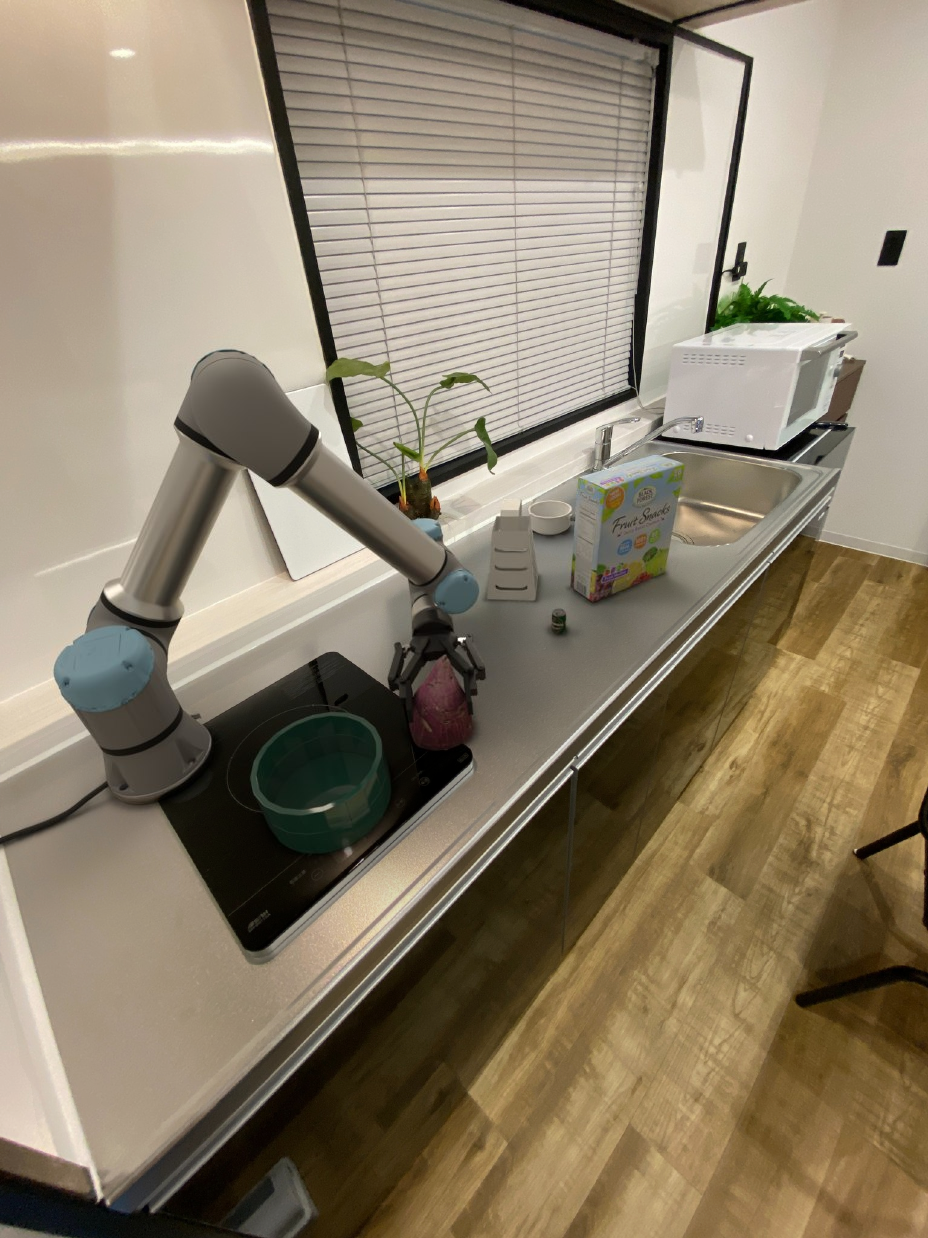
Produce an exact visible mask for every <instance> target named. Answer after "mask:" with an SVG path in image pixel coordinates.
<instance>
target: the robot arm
mask: <svg viewBox="0 0 928 1238" xmlns="http://www.w3.org/2000/svg"><path fill="white" fill-rule="evenodd" d="M172 426H173V429H174V431H175V433H176V436H177V438H178V441H179V442H178V444H177V447H176V450H175V452H174V454H173V456H172V459H171V461H170V463H169V465H168V467H167V470H166V472H165V475H164V477H163V479H162V482H161V484H160V486H159V488H158V490H157V492H156V495H155V498H154V500H153V501H152V505H151V507H150V509H149V511H148V514H147V516H146V518H145V521H144V523H143V525H142V527H141V530H140V532H139V534H138V537H137V539H136V541H135V543H134V545H133V548H132V550H131V552H130V555H129V557H128V560H127V562H126V564H125V567H124V568H123V571H122V573H121V576H120V577H117V578H113V579H110V580H108V581H107V582H106V583H104V586H103V588H102V590H101V593H100V595H99V598H98V600H97V601H96V603H95V605H93V606H92V608H91V609H90V611H89V614H88V617H87V622H86V628H85V631H84V633H83V634H82V635H80V636H78V637H77V638H75V639H73V640H72V644H71V645H66V646H65V647H64V648H63V649H62V650H61V651H60V653H59V654H58V656H57V658H56V660H55V662H54V665H53V678H54V681H55V683H56V685H57V687H58V689H59V690H60V695H61V697H63V699H64V701H66V703H67V704H68V705H69V706H70V707H71V709H72V710H73V712H74V713H75V714H76V716H77V718H78V719H79V720H80V721H81V723H82V724H83V726H84V727H85V728H86V730H87V731H88V733H89V734H90V736H91V737H92V738H93V740H94V741H95V743H96V744H97V746H98V747H99V749H100V750H101V751H102V759H103V766H104V771H105V780H106V781H104V782H103V783H102V784H100V785H99V786H97V787H96V788H95V789H93V790H92V791H90V792H89V793H87V794H86V795H85V796H84V797H82V798H81V799H80V800H78V801H77V802H76V803H75V804H73V805H72V806H71V807H70V808H68V809H66V810H65V811H63V812H61V813H59V814H57V815H55V816H53V817H51V818H49V819H47V820H44V821H42V822H38V823H36V824H33V825H30V826H26V827H24V828H22V829H19V830H17V831H13V832H10V833H8V834H6V835H3V836H1V837H0V845H2V844H4V843H6V842H9V841H12V840H14V839H15V840H16V839H17V838H20V837H22V836H26V835H28V834H31V833H34V832H38V831H39V830H42V829H45V828H47V827H50V826H52V825H54V824H56V823H58V822H60V821H62V820H64V819H66V818H68V817H70V816H72V815H73V814H74V813H76V812H77V811H78V810H80V808H82V807H83V806H84V805H86V804H87V803H88V802H89V801H91V800H92V799H94V798H95V797H96V796H98V795H99V794H101V793H102V792H103V791H104V790H106V789H107V788H109V789H110V791H111V793H112V794H113V795H114V796H115V798H117V799H118V800H119V801H121V802H123V803H126V804H129V805H146V804H152V803H157V802H160V801H162V800H165V799H167V798H170V797H172V796H174V795H177V794H178V793H180V792H181V791H184V790H185V789H186V788H187V787H189V786H191V785H192V783H194V782H195V781H197V779H198V778H199V777H200V776H201V775H202V774H203V773H204V772H205V771H206V769H207V768H208V767H209V765H210V763H211V761H212V759H213V757H214V753H215V743H214V739H213V738H212V736H211V733H210V731H209V730H208V728H207V727H206V726H204V724H202V723H201V722H199V721H198V720H200V719H202V716H201V714H200V713H194V714H191V715H190V714H189V713H188V712H186V711H185V709H183V707H182V705H181V704H180V702H179V700H178V698H177V696H176V694H175V692H174V690H173V688H172V686H171V684H170V682H169V678H168V661H169V649H170V648H169V647H170V644H171V642H172V639H173V637H174V635H175V633H176V631H177V628H178V627H179V625H180V622H181V620H182V618H183V616H184V614H185V606H184V603H183V601H182V600H181V596H182V594H183V592H184V590H185V587H186V586H187V584H188V581H189V579H190V578H191V575H192V573H193V571H194V570H195V567H196V564H197V562H198V560H199V558H200V557H201V554H202V552H203V550H204V547H205V546H206V544H207V542H208V539H209V537H210V536H211V533H212V531H213V529H214V527H215V524H216V522H217V520H218V518H219V516H220V514H221V512H222V510H223V508H224V506H225V504H226V501H227V499H228V497H229V495H230V493H231V491H232V489H233V487H234V485H235V483H236V480H237V478H238V476H239V474H240V472H241V471H243V470H244V471H245V470H249V471H250V472H252V473H253V474H255V475H256V476H258V477H259V478H261V479H262V480H263V481H265V482H266V483H267V484H269V485H270V486H271V487H273V488H274V489H288V490H289V491H290V492H292V493H293V494H295V495H296V496H297V497H299V498H300V499H301V500H303V501H304V502H306V503H307V504H308V505H309V506H311V507H312V508H314V509H315V510H316V511H317V512H319V513H320V514H321V515H323V516H324V517H326V519H328V520H330V522H332V523H333V524H335V526H338V528H340V529H342V530H343V531H344V532H345V533H347V534H348V535H349V536H351V538H353V539H355V540H356V541H357V542H359V543H360V544H361V545H363V546H364V547H365V548H367V549H368V550H369V551H371V552H372V554H375V555H376V556H377V557H379V558H380V559H381V560H383V561H384V562H385V563H386V564H388V565H389V566H390V567H392V568H393V569H394V570H396V571H397V572H399V573H400V574H401V575H402V576H403V577H405V578H406V579H407V583H408V591H409V596H410V597H409V598H410V607H411V608H410V609H411V612H410V615H411V617H410V618H411V619H410V620H411V640H410V641H409V643H406V644H402V643H401V642H400V641H397V642H394V644H393V646H394V654H393V658H392V661H391V664H390V668H389V671H388V673H387V677H386V679H387V684H388V688H389V689H388V690H389V691H390V692H396V691H398V698H399V703H400V705H401V706H403V705H405V711H406V716H407V721H408V724H409V723H413V722H414V712H413V696H414V692H413V684H414V682H415V680H416V678H417V677H418V676H419V673H420V672H421V670H422V668H425V666H426V665H427V663H428V662H429V663H431V662H434V661H437V660H438V659H439V658H440V657H442V656H444V655H447V658H448V659H449V661H450V662H451V665H452V668H454V670H455V671H456V672H457V673H458V674H459V675H460V676H461V677H462V679H463V690H464V692H465V696H466V702H467V709H468V715H472V716H474V706H473V705H474V704H473V698H472V697H476V696H478V684H477V681H485V680H486V679H487V673H486V672H487V671H486V664H485V663H484V661H483V659H482V657H481V655H480V653H479V652H478V649H477V648H476V646H475V644H474V635H473V634H472V633H466V634H465V637H458V635H457V634H455V628H454V621H453V615H461V614H464V613H465V612H467V611H469V610H470V609H471V608H472V607H473V606H474V605H475V604H476V602H477V600H478V599H479V596H480V587H479V582H478V581H477V580H476V578H475V577H474V575H473V574H474V573H472V571H469V569H467V568H466V567H465V565H463V563H462V562H461V561H460V560H459V559H458V558H457V557H456V556H455V554H453V552H452V551H451V550H450V549H449V547H447V545H445V544H444V534H443V531H442V526H441V524H440V522H439V521H437V520H436V519H434V518H433V519H432V518H428V517H427V518H424V517H423V518H422V517H421V518H416V519H412V520H411V519H410V518H409V517H408V516H406V515H405V513H403V512H402V511H401V510H400V509H399V508H397V506H395V504H393V503H392V502H391V501H389V499H387V498H386V497H385V496H384V495H383V494H381V493H380V492H379V491H378V490H377V489H376V488H374V487H373V485H371V484H370V483H369V482H368V481H366V479H364V478H363V477H362V476H361V475H360V474H359V473H357V472H356V471H355V470H354V469H353V468H352V467H350V466H349V465H348V464H347V463H346V462H345V461H344V460H342V459H341V458H340V457H339V456H338V455H337V454H335V453H334V452H333V451H332V450H331V449H330V448H329V447H328V446H326V445H325V444H324V443H323V440H322V432H321V430H320V429H318V428H317V427H316V426H315V425H314V424H313V423H311V421H309V420H308V419H307V418H306V417H305V416H304V415H303V414H302V413H301V412H300V411H299V409H298V407H296V406H295V404H294V403H293V402H292V401H291V399H290V398H289V396H288V395H287V393H285V391H284V390H283V388H282V387H281V385H280V383H279V382H278V381H277V379H276V377H275V375H274V374H273V372H272V371H271V370H270V368H269V367H268V366H267V365H266V364H265V363H263V362H262V361H260V359H258V358H257V357H256V356H255V355H253V354H249V353H248V352H246V351H243V350H238V349H235V348H222V349H216V350H214V351H211V352H208V353H207V354H205V355H204V356H203V357H201V358H200V359H199V360H198V361H197V362H196V364H195V365H194V368H193V369H192V372H191V374H190V381H189V386H188V388H187V391H186V393H185V396H184V397H183V400H182V403H181V405H180V407H179V409H178V412H177V414H176V417H175V419H174V422H173V424H172ZM458 647H461V649H463V652H465V653H466V656H467V658H468V660H469V661H470V662H468V661H467V660H466V659H465V658H464V657H463V656H462V655H461V654H460V653H459V652H458V651H457V650H456V649H457V648H458ZM410 652H411V653H412V654H413V655H412V657H411V659H410V660H409V661H408V663H407V665H406V666H405V668H404V665H405V659H407V658H408V657H407V656H408V655H409V653H410ZM403 669H404V670H403Z"/></svg>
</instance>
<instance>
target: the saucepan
mask: <svg viewBox="0 0 928 1238" xmlns="http://www.w3.org/2000/svg"><path fill="white" fill-rule="evenodd" d="M572 510H573V507H572V506H571V504H569V503H566V502H564V501H561V500H541V501H538V502H534V503H532V504H531V505H530V506H528V508H527V511H528V513H529V516H531V524H532V532H533V531H534V532H536V533H537V534H540V535H545V536H554V535H559V534H561V533H563V532H565V531H567V530H568V529H569V528H570V526H571V525H570V524H571V522H575V516H576V513H571V512H572Z"/></svg>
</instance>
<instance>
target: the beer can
mask: <svg viewBox="0 0 928 1238" xmlns="http://www.w3.org/2000/svg"><path fill="white" fill-rule="evenodd" d="M551 631H552V632H553V633H554V634H556V635H562V634H563V633H565V632H566V631H567V611H566V610H564V609H563V608H555V609H553V610H552V612H551Z"/></svg>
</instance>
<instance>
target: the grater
mask: <svg viewBox="0 0 928 1238" xmlns="http://www.w3.org/2000/svg"><path fill="white" fill-rule="evenodd" d="M525 549H527V550H525ZM489 554H490V555H489V568H488V569H489V570H488V571H489V573H488V582H487V583H488V584H487V585H488V586H487V597H486V598H487V600H501V601H502V600H505V601H535V602H536V597H537V588H538V582H539V581H538V580H539V573H538V572H539V571H538V564H537V556H536V547H535V541H534V533H533V530H532V524H531V516H530V515H523V501H522V499H521V498H503V501H502V504H501V507H500V513H499V515H496V516H495V520H494V523H493V527H492V529H491V542H490V553H489ZM535 577H536V578H535ZM496 586H497V587H498V588H508V589H498V588H497V587H496ZM525 587H527V589H524V588H525ZM509 588H511V590H510V589H509ZM512 588H513V589H515V588H516V589H524V590H512Z"/></svg>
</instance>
